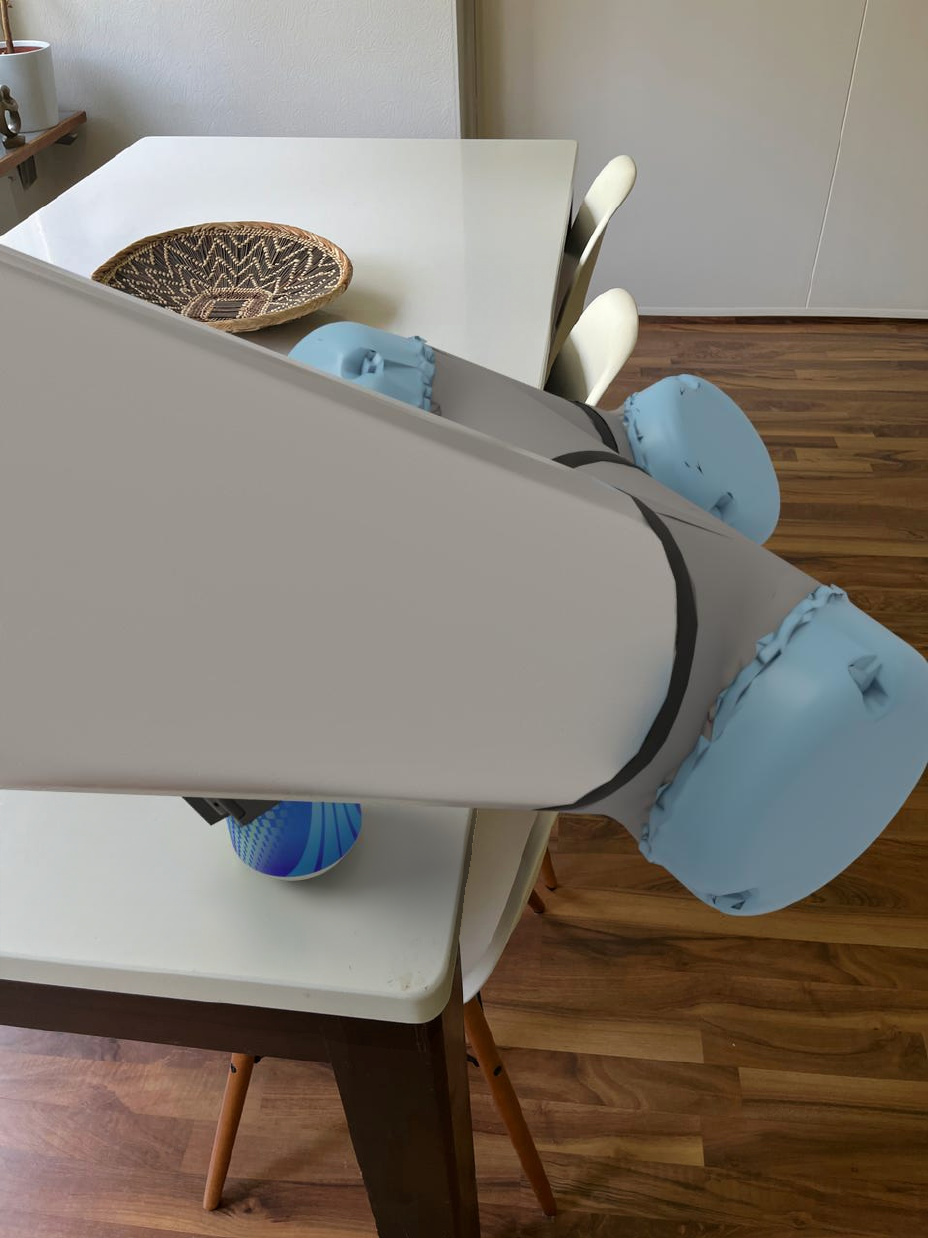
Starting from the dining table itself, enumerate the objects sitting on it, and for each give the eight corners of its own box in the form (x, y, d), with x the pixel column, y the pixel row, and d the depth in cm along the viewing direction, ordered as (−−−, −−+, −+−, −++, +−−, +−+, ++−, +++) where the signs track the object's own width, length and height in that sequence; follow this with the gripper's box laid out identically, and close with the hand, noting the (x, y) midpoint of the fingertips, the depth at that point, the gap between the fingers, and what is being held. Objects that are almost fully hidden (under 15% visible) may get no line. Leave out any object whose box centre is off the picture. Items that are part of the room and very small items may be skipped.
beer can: (389, 833, 65) (372, 644, 55) (291, 914, 60) (253, 722, 50) (306, 772, 70) (276, 587, 60) (208, 843, 65) (158, 653, 55)
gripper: (426, 824, 40) (180, 927, 55) (593, 557, 55) (364, 695, 70) (299, 691, 39) (82, 834, 54) (506, 455, 54) (292, 618, 69)
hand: (242, 755), depth 62 cm, fingers closed on beer can, 8 cm apart
